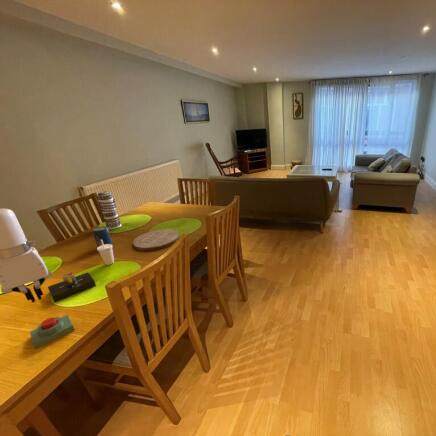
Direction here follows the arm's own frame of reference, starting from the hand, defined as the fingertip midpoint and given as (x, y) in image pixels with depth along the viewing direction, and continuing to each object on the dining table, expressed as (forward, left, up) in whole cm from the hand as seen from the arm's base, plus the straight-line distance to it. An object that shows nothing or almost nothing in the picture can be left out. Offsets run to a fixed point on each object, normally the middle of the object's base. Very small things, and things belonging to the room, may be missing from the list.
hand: (36, 298), depth 78 cm
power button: (0, 0, -12) cm, 12 cm away
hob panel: (+10, +25, -15) cm, 31 cm away
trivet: (+54, +44, -15) cm, 71 cm away
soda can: (+31, +59, -15) cm, 68 cm away
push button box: (0, 0, -15) cm, 15 cm away
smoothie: (+27, +37, -15) cm, 48 cm away
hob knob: (+10, +25, -12) cm, 30 cm away
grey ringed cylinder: (+44, +89, -15) cm, 100 cm away
